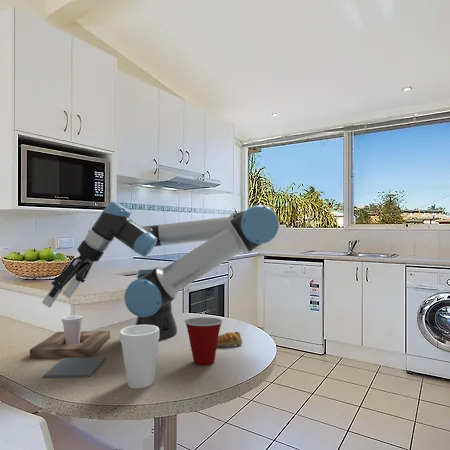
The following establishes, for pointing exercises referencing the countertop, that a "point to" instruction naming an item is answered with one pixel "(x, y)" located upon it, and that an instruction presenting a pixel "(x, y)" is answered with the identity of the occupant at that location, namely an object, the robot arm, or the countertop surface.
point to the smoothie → (72, 327)
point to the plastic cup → (203, 338)
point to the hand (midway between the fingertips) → (56, 300)
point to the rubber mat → (75, 367)
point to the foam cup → (140, 354)
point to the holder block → (70, 345)
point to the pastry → (229, 339)
